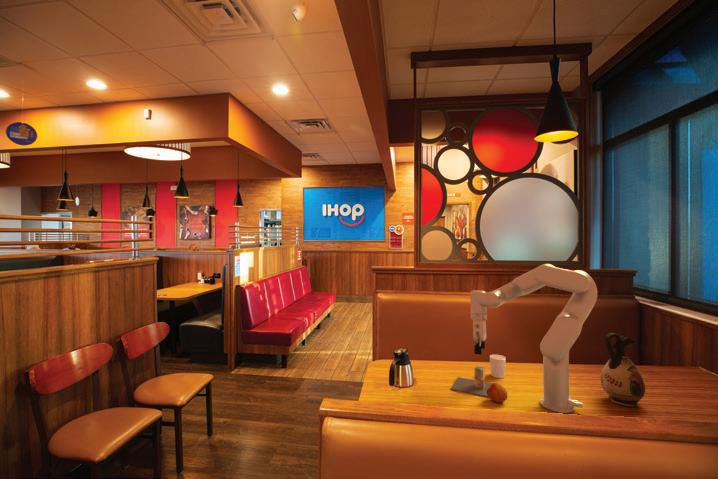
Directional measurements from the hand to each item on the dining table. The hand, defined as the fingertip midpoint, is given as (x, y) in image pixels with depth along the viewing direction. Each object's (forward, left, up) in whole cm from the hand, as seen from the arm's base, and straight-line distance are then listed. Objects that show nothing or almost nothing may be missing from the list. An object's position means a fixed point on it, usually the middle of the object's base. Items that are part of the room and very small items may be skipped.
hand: (479, 351), depth 162 cm
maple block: (0, 0, -17) cm, 17 cm away
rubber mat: (+3, +1, -18) cm, 18 cm away
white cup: (-6, -20, -18) cm, 28 cm away
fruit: (-9, +11, -18) cm, 23 cm away
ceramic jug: (-57, -14, -18) cm, 61 cm away
